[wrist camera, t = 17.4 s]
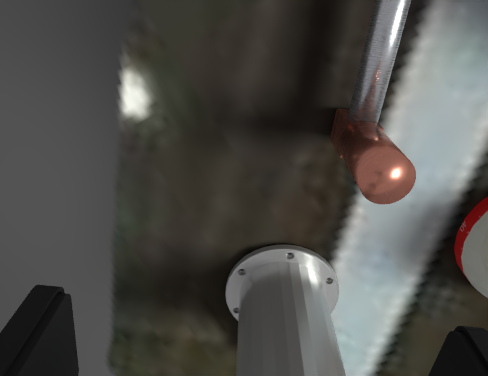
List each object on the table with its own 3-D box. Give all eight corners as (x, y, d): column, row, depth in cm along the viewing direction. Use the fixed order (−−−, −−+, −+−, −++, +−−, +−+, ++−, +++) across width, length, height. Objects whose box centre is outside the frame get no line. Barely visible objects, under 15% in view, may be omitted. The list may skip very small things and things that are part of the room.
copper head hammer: (363, 145, 37) (406, 206, 27) (324, 141, 37) (353, 201, 26) (427, -100, 28) (527, -149, 18) (378, -107, 28) (450, -160, 18)
